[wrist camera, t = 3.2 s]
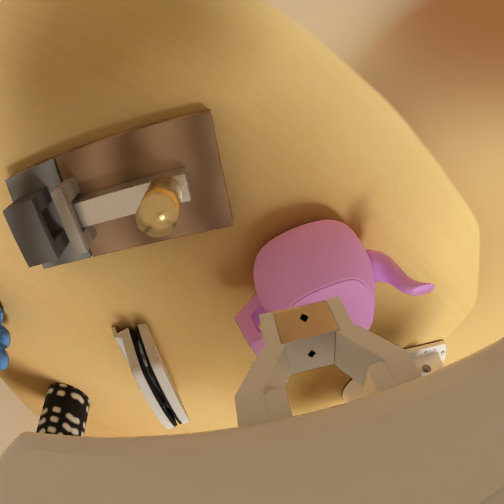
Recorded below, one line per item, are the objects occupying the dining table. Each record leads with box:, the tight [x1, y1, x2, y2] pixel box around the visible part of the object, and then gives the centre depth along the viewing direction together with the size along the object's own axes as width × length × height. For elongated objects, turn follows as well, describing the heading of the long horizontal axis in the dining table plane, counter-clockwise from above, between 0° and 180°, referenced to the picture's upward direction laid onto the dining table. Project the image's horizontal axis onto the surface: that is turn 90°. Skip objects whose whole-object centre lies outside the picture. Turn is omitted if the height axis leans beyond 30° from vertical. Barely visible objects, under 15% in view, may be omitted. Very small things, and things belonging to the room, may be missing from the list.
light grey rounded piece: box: [112, 323, 190, 429], centre depth 39 cm, size 17×5×10 cm, turn 5°
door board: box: [3, 110, 233, 269], centre depth 27 cm, size 22×11×5 cm, turn 99°
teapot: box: [234, 220, 435, 355], centre depth 32 cm, size 13×20×11 cm
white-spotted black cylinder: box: [36, 383, 90, 436], centre depth 37 cm, size 8×8×20 cm
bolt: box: [71, 167, 192, 238], centre depth 24 cm, size 12×3×7 cm, turn 99°
